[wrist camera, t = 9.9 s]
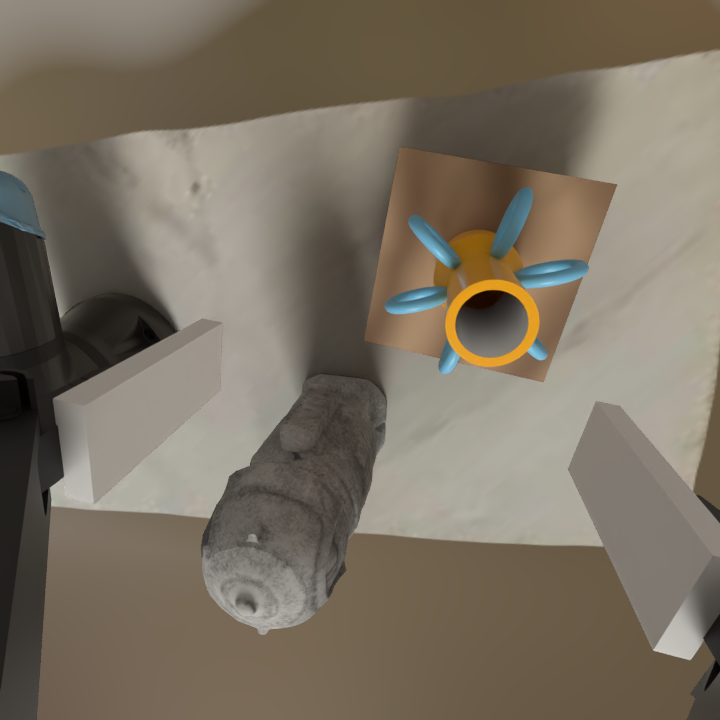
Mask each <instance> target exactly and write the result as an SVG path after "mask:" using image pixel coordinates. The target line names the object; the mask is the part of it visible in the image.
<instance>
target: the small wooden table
mask: <svg viewBox="0 0 720 720" xmlns="http://www.w3.org/2000/svg"><path fill="white" fill-rule="evenodd" d="M616 186H617V184H611V183H605V182H600V181H594V180H588V179H582V178H577V177H571V176H565V175H560V174H554V173H548V172H542V171H537V170H531V169H525V168H519V167H514V166H508V165H502V164H497V163H491V162H485V161H479V160H474V159H468V158H462V157H456V156H451V155H445V154H439V153H434V152H428V151H422V150H416V149H411V148H405V147H399V153H398V158H397V163H396V169H395V174H394V180H393V185H392V190H391V196H390V201H389V207H388V212H387V217H386V223H385V228H384V234H383V239H382V244H381V250H380V255H379V261H378V266H377V271H376V277H375V282H374V288H373V293H372V298H371V304H370V309H369V315H368V320H367V325H366V331H365V336H364V341H367V342H372V343H376V344H380V345H385V346H389V347H393V348H398V349H402V350H406V351H411V352H415V353H419V354H424V355H428V356H432V357H437V358H440V357H441V354H442V351H443V348H444V346H445V343H446V341H447V335H446V329H445V321H446V310H445V309H444V308H443V306H442V305H439V306H436V307H434V308H431V309H427V310H424V311H420V312H415V313H408V314H392V313H389V312H387V311H386V309H385V303H386V301H387V300H388V299H389V298H391V297H393V296H395V295H397V294H400V293H403V292H406V291H410V290H414V289H419V288H424V287H432V286H434V283H433V277H434V270H435V266H436V262H437V259H438V258H436V257H435V256H434V255H433V254H432V253H431V252H430V251H429V250H428V249H427V247H426V246H425V245H424V244H423V243H422V242H421V241H420V240H419V239H418V237H417V236H416V235H415V234H414V232H413V231H412V230H411V228H410V226H409V224H408V220H409V218H410V217H411V216H412V215H419V216H420V217H422V218H423V219H424V220H425V221H426V222H427V223H429V224H430V225H431V226H432V227H433V228H434V229H435V230H436V231H437V232H438V233H439V234H440V235H441V236H442V238H443V239H444V240H445V241H446V242H447V243H448V242H449V241H450V240H451V239H453V238H454V237H456V236H457V235H459V234H461V233H464V232H467V231H471V230H487V231H491V232H494V233H496V232H497V230H498V228H499V225H500V223H501V221H502V219H503V217H504V214H505V212H506V210H507V209H508V207H509V205H510V203H511V201H512V200H513V198H514V196H515V195H516V194H517V192H518V191H519V190H520V189H522V188H524V187H529V188H531V189H532V191H533V202H532V205H531V209H530V211H529V214H528V217H527V219H526V221H525V224H524V226H523V228H522V230H521V232H520V234H519V236H518V238H517V240H516V241H515V243H514V245H513V247H514V248H515V249H516V251H517V252H518V254H519V256H520V258H521V260H522V263H523V266H524V268H525V267H528V266H531V265H535V264H539V263H544V262H550V261H557V260H567V259H577V260H582V261H585V262H586V263H587V264H588V262H589V259H590V256H591V253H592V251H593V248H594V245H595V243H596V240H597V237H598V235H599V232H600V229H601V227H602V224H603V221H604V219H605V216H606V213H607V211H608V208H609V205H610V203H611V200H612V197H613V194H614V192H615V189H616ZM582 278H583V277H581V278H579V279H577V280H574V281H571V282H568V283H564V284H560V285H555V286H549V287H541V288H525V289H526V291H527V292H528V293H529V295H530V296H531V297H532V299H533V300H534V302H535V304H536V306H537V309H538V312H539V321H540V322H539V330H538V333H537V336H536V337H537V338H538V339H539V340H540V341H541V343H542V344H543V345H544V347H545V348H546V350H547V352H548V356H547V358H546V359H544V360H537V359H536V358H534V357H533V356H532V355H530V354H529V353H528V352H526V353H525V354H523V355H522V356H521V357H520V358H518V359H516V360H515V361H513V362H511V363H508V364H505V365H501V366H495V367H485V366H479V365H475V364H473V363H470V362H468V361H466V360H465V359H463V358H462V357H460V358H459V360H458V363H462V364H467V365H471V366H475V367H480V368H484V369H488V370H493V371H497V372H501V373H506V374H510V375H514V376H519V377H523V378H527V379H532V380H536V381H540V382H544V380H545V377H546V374H547V371H548V369H549V366H550V363H551V361H552V358H553V355H554V353H555V350H556V347H557V345H558V342H559V339H560V337H561V334H562V331H563V329H564V326H565V323H566V321H567V318H568V315H569V312H570V310H571V307H572V304H573V302H574V299H575V296H576V294H577V291H578V288H579V286H580V283H581V280H582Z"/></svg>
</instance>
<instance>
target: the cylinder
mask: <svg viewBox="0 0 720 720" xmlns="http://www.w3.org/2000/svg"><path fill="white" fill-rule="evenodd" d="M532 202H533V191H532V189H531V188H529V187H524V188H522V189H520V190H519V191H518V192H517V194H516V195H515V196H514V198H513V200H512V201H511V203H510V205H509V207H508V209H507V210H506V212H505V214H504V217H503V219H502V221H501V223H500V225H499V228H498V230H497V232H496V233H494V232H491V231H487V230H471V231H467V232H464V233H461V234H459V235H457V236H456V237H454V238H453V239H451V240H450V241H449V242H448V243H447V242H446V241H445V240H444V239H443V238H442V236H441V235H440V234H439V233H438V232H437V231H436V230H435V229H434V228H433V227H432V226H431V225H430V224H429V223H427V222H426V221H425V220H424V219H423V218H422V217H420V216H419V215H412V216H411V217H410V218H409V220H408V224H409V226H410V228H411V230H412V231H413V232H414V234H415V235H416V236H417V237H418V239H419V240H420V241H421V242H422V243H423V244H424V245H425V246H426V247H427V249H428V250H429V251H430V252H431V253H432V254H433V255H434V256H435V257H436V258H438V259H437V262H436V266H435V270H434V277H433V283H434V286H432V287H424V288H419V289H414V290H410V291H406V292H403V293H400V294H397V295H395V296H393V297H391V298H389V299H388V300H387V301H386V303H385V309H386V311H387V312H389V313H392V314H408V313H415V312H420V311H424V310H427V309H431V308H434V307H436V306H439V305H442V306H443V308H444V309H445V310H446V321H445V329H446V335H447V341H446V343H445V346H444V348H443V351H442V354H441V357H440V361H439V370H440V372H441V373H443V374H447V373H449V372H451V371H452V370H453V368H454V367H455V365H456V364H457V362H458V360H459V358H460V357H462V358H463V359H465V360H466V361H468V362H470V363H473V364H475V365H479V366H485V367H495V366H501V365H505V364H508V363H511V362H513V361H515V360H516V359H518V358H520V357H521V356H522V355H523V354H525V353H526V352H528V353H529V354H530V355H532V356H533V357H534V358H536V359H537V360H544V359H546V358H547V356H548V352H547V350H546V348H545V347H544V345H543V344H542V343H541V341H540V340H539V339H538V338H537V337H536V336H537V333H538V330H539V322H540V321H539V312H538V309H537V306H536V304H535V302H534V300H533V299H532V297H531V296H530V295H529V293H528V292H527V291H526V289H525V288H541V287H549V286H555V285H560V284H564V283H568V282H571V281H574V280H577V279H579V278H581V277H583V276H584V275H585V274H586V273H587V272H588V269H589V267H588V264H587V263H586V262H585V261H582V260H577V259H567V260H557V261H550V262H544V263H539V264H535V265H531V266H528V267H525V268H524V266H523V263H522V260H521V258H520V256H519V254H518V252H517V251H516V249H515V248H514V247H513V245H514V243H515V241H516V240H517V238H518V236H519V234H520V232H521V230H522V228H523V226H524V224H525V221H526V219H527V217H528V214H529V211H530V209H531V205H532Z"/></svg>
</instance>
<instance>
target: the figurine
mask: <svg viewBox="0 0 720 720" xmlns="http://www.w3.org/2000/svg"><path fill="white" fill-rule="evenodd" d="M302 391H303V393H302V394H301V396H300V397H299V399H298V400H297V401H296V402H295V403H294V405H293V406H292V408H291V409H290V411H289V412H288V414H287V415H286V416H285V417H284V418H283V419H282V420H281V422H280V423H279V424H278V425H277V426H276V428H275V429H274V430H273V431H272V433H271V434H270V435H269V437H268V438H267V439H266V440H265V441H264V443H263V444H262V446H261V447H260V448H259V450H258V451H257V452H256V453H255V454H254V456H253V457H252V459H251V462H250V466H248V467H245V468H243V469H241V470H238V471H236V472H235V473H233V474H232V475H231V476H229V479H228V483H227V486H226V489H225V492H224V494H223V496H222V498H221V499H220V501H219V502H218V504H217V505H216V507H215V510H214V512H213V514H212V516H211V518H210V521H209V523H208V525H207V527H206V529H205V531H204V534H203V538H202V544H201V554H202V562H203V575H204V580H205V583H206V586H207V591H208V594H209V595H210V596H211V597H212V598H213V599H214V600H215V601H216V602H217V603H218V605H219V606H220V608H222V609H223V610H224V611H226V612H227V613H228V614H230V615H231V616H232V617H234V618H235V619H236V620H238V621H240V622H242V623H245V624H248V625H250V626H253V627H256V628H257V629H258V633H259V634H262V635H265V634H266V633H267V632H268V630H269V629H276V628H285V627H291V626H295V625H298V624H301V623H303V622H304V621H306V620H308V619H309V618H310V617H312V616H313V615H314V614H315V613H316V612H317V611H318V610H319V609H320V607H321V606H322V605H323V604H324V603H325V602H326V601H327V600H328V599H329V597H330V596H331V594H332V591H333V588H334V586H335V584H336V583H337V581H338V579H339V578H340V577H341V576H342V575H343V574H344V573H345V571H346V568H345V563H344V559H345V555H346V548H347V542H348V540H349V539H350V537H351V536H352V535H353V533H354V530H355V529H356V528H357V525H358V522H359V519H360V514H361V510H362V508H363V506H364V504H365V501H366V498H367V495H368V492H369V490H370V486H371V482H372V470H373V466H374V463H375V459H376V455H377V454H378V452H379V451H380V449H381V448H382V446H383V444H384V441H385V424H384V423H385V421H386V408H387V404H386V398H385V397H384V395H383V394H382V392H381V391H380V390H379V388H378V387H377V386H375V385H374V384H373V383H372V382H371V381H370V380H367V379H359V378H353V377H344V376H336V375H326V374H319V375H316V376H314V377H311V378H309V379H307V380H306V381H305V382H304V384H303V390H302Z"/></svg>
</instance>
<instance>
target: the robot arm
mask: <svg viewBox="0 0 720 720" xmlns="http://www.w3.org/2000/svg"><path fill="white" fill-rule="evenodd" d="M45 239H46V235H45V234H44V232H43V231H42V230H41V228H40V224H39V220H38V217H37V213H36V209H35V205H34V202H33V198H32V195H31V193H30V191H29V189H28V188H27V187H26V185H25V184H24V183H23V182H22V181H20V180H19V179H18V178H16V177H14V176H13V175H11V174H9V173H6V172H3V171H0V720H37V708H38V692H39V678H40V663H41V648H42V632H43V617H44V602H45V601H44V600H45V587H46V586H45V585H46V571H47V557H48V541H49V526H50V511H51V494H50V487H51V486H52V485H54V484H55V483H56V482H58V481H59V480H60V479H62V478H63V482H64V490H65V497H67V498H71V499H74V500H78V501H82V502H86V503H90V504H95V503H96V502H97V501H99V500H100V499H101V498H102V497H103V496H104V495H105V494H106V493H107V492H108V491H110V490H111V489H112V488H113V487H114V486H115V485H116V484H117V483H118V482H120V481H121V480H122V479H123V478H124V477H125V476H126V475H127V474H128V473H129V472H131V471H132V470H133V469H134V468H135V467H136V466H137V465H138V464H139V463H141V462H142V461H143V460H144V459H145V458H146V457H147V456H148V455H149V454H150V453H152V452H153V451H154V450H155V449H156V448H157V447H158V446H159V445H160V444H162V443H163V442H164V441H165V440H166V439H167V438H168V437H169V436H170V435H171V434H173V433H174V432H175V431H176V430H177V429H178V428H179V427H180V426H181V425H182V424H184V423H185V422H186V421H187V420H188V419H189V418H190V417H191V416H192V415H194V414H195V413H196V412H197V411H198V410H199V409H200V408H201V407H202V406H203V405H205V404H206V403H207V402H208V401H209V400H210V399H211V398H212V397H213V396H215V395H216V394H217V393H218V392H219V391H220V381H221V354H222V327H223V323H222V322H217V321H212V320H207V319H201V320H199V321H197V322H195V323H193V324H192V325H190V326H188V327H186V328H184V329H182V330H180V331H178V332H177V333H175V331H174V330H173V328H172V327H171V325H170V324H169V323H168V322H167V320H166V319H165V318H164V317H163V316H162V315H161V314H160V313H159V312H158V311H156V310H155V309H154V308H153V307H151V306H150V305H148V304H147V303H145V302H143V301H141V300H139V299H137V298H134V297H132V296H128V295H124V294H117V293H110V294H103V295H99V296H96V297H92V298H89V299H86V300H83V301H81V302H79V303H78V304H76V305H74V306H73V307H72V308H71V309H70V310H69V311H68V312H67V313H66V314H65V315H64V316H62V317H61V318H60V317H59V312H58V307H57V302H56V297H55V292H54V287H53V282H52V277H51V272H50V267H49V262H48V257H47V252H46V247H45V242H44V240H45ZM568 470H569V472H570V474H571V476H572V479H573V481H574V483H575V485H576V487H577V489H578V491H579V493H580V496H581V498H582V500H583V502H584V504H585V506H586V508H587V510H588V513H589V515H590V517H591V519H592V521H593V523H594V525H595V528H596V530H597V532H598V534H599V536H600V538H601V540H602V542H603V545H604V547H605V549H606V551H607V553H608V555H609V557H610V559H611V562H612V564H613V566H614V568H615V570H616V572H617V574H618V576H619V579H620V581H621V583H622V585H623V587H624V589H625V591H626V594H627V596H628V598H629V600H630V602H631V604H632V606H633V609H634V611H635V613H636V615H637V617H638V619H639V621H640V623H641V626H642V627H643V630H644V632H645V634H646V636H647V638H648V640H649V643H650V645H651V647H652V649H653V651H658V652H661V653H665V654H669V655H673V656H676V657H680V658H684V659H688V660H691V659H692V657H693V656H694V654H695V653H696V652H697V650H698V649H699V647H700V646H701V644H702V643H703V641H705V642H706V644H707V646H708V647H709V649H710V651H711V652H712V654H713V656H714V658H715V660H714V661H713V663H712V664H711V666H710V667H709V668H708V670H707V671H706V672H705V674H704V675H703V677H702V678H701V679H700V681H699V682H698V684H697V685H696V687H695V688H694V689H693V691H692V692H691V695H692V696H694V697H695V701H694V703H693V706H692V708H691V710H690V713H689V715H688V718H687V720H720V510H718V509H717V508H716V507H714V506H713V505H712V504H711V503H709V502H708V501H707V500H705V499H704V498H703V497H701V496H699V495H695V494H694V492H693V491H692V490H691V489H690V488H689V487H688V485H687V484H686V483H685V482H684V481H683V480H682V478H681V477H680V476H679V475H678V474H677V472H676V471H675V470H674V469H673V468H672V467H671V465H670V464H669V463H668V462H667V461H666V460H665V458H664V457H663V456H662V455H661V454H660V453H659V451H658V450H657V449H656V448H655V447H654V445H653V444H652V443H651V442H650V441H649V440H648V438H647V437H646V436H645V435H644V434H643V433H642V431H641V430H640V429H639V428H638V427H637V425H636V424H635V423H634V422H633V421H632V420H631V418H630V417H629V416H628V415H627V414H626V413H625V411H624V410H623V409H622V408H621V407H620V406H617V405H613V404H608V403H603V402H598V401H596V403H595V405H594V407H593V410H592V412H591V415H590V417H589V420H588V422H587V424H586V427H585V429H584V432H583V434H582V436H581V439H580V441H579V444H578V446H577V448H576V451H575V453H574V456H573V458H572V461H571V463H570V465H569V468H568Z"/></svg>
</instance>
